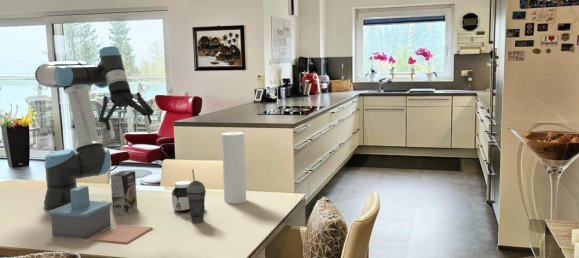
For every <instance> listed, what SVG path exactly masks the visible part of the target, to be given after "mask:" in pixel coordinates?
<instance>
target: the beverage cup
mask: <svg viewBox="0 0 579 258" xmlns="http://www.w3.org/2000/svg"><path fill="white" fill-rule="evenodd" d="M191 172H192V178H193V179H192V180H193V181H191V183H190V184H189V185H188V187H187V192H186V193H187V197H188V201H189V208H190V212H189V215H190V219H191V221H190V222H191V223H193V224H201V223H203V222H204V218H205V208H204V206H205V197H206V193H207V192H206V187H205V185H204V183H203V182H201V181H199V180H196V177H195V171H194V169H191Z"/></svg>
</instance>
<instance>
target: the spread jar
mask: <svg viewBox="0 0 579 258" xmlns="http://www.w3.org/2000/svg"><path fill="white" fill-rule="evenodd" d="M191 182H192V181H190V180H181V181H180V180H179V181H176V182H174V188H173V190H172V192H171V205H172V208H173V209H174V211H175V212H176V213H178V214H179V213H180V214H187V213H190V208H189V201H188V197H187V193H186V192H187V187H188V185H189V184H190V183H191ZM204 209H206V207H205V205H204Z"/></svg>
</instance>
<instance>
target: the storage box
mask: <svg viewBox="0 0 579 258" xmlns="http://www.w3.org/2000/svg"><path fill="white" fill-rule="evenodd" d="M110 207H111V206H109V207H107V208H104V209H102V210H100V211H98V212H95V213H93V214H91V215H89V216H86V217H76V216H63V215H50V217H51V218H50V219H51V230H52V236H53V237H60V238H61V237H62V238H70V239H71V238H72V239H80V240H81V239H83V240H87V239H89V238H91V237H93V236H96V235H97V234H100V233H101V232H103V231H104V230H107V229H109V228H111V227H112V222H111V208H110ZM110 226H111V227H110Z"/></svg>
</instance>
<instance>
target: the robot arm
mask: <svg viewBox="0 0 579 258" xmlns="http://www.w3.org/2000/svg"><path fill="white" fill-rule="evenodd" d="M98 54H99V59H100V61H99V63H98V64H91V65H90V64H89V63H87V62H86V61H79V60H75V61H50V62H45V63H43V64H41V65H40V64H39V66H38V67H37V68H36V70H35V73H34V77H35V80H36V81H37V83H38V84H40V85H42V86H43V87H47V88H54V89H56V88H63V92H64V94H66V95H68V98H69V105H70V109H71V114H72V118H73V119H72V120H73V123H74V128H75V134H76V137H77V138H76V139H77V143H78V145H77V146H76V148H75V151H74V149H71V148H70V149H69V148H67V149H62V150H55V151H53V152H50V153H48V154H47V155H45V158H44V169H45V178H46V193H45V196H44V200H43V206H44V207H43V208H44V209H46V210H53V209H56V208H58V207H61V206H64V205H66V204H69V203H71V196H70V190H71V189H74V188H77V187H78V186H77V180H78V179H84V178H89V177H90V178H91V177H96V176H97V177H99V176H102V175H105V174H107V173H108V172H109V171H110V168H111V162H112V161H111V158H112V157H111V152H110V150H109V148H107V147H104V144H103V142H101V141H100V140H99V136H98V131H97V127H96V121H95V117H94V113H93V107H92V103H91V99H90V94H89V92H90V90H91V89H92V86H93V85H94V86H95V87H97V88H99V89H104V88H105V89H106V88H108V91H109V96H107V95H103V98H102V108H101V110H100V113H99V118H98V123H103V124H104V125H105V126H104V127H105V129H106V131H109V135H110V138H111V140H114V139H115V138H116V133H115V129H114V127H113V123H112V120H111V117H112V116H113V114H114V112H115V111H116V109H117V108H123V107H125V108H127V107H130V108H132V109H134V110H135V111H136V112H138V113H139V114H141V115H142V116H143V120H144V124H145V128H146V131H147V134H151V132H152V127H151V124H152V119H151V116H152V115H153V114H154V112H155V111H154V109H153V108H152V107H151V106H150V105H149V104H148V103H147V102H146V100H145V99H144V98H143V97H142V95H141V93H140V92H137V93H134V94H133V93H132V91H131V87H130V85H129V82H128V81H129V80H128V77H127V74H126V69H125V66H124V63H123V59H122V54H121V53H120V50H119V47H117V46H115V45H107V46H103V47H101V49H99V52H98ZM134 99H135V100H136V101H135V100H134ZM110 102H111V103H113V105H112V106H111V109H110V110H109V111H108V114H107V115H106V117H104V116H105V112H106V109H107V105H108V104H109V103H110ZM137 102H138V103H139V104H138V103H137Z"/></svg>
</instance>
